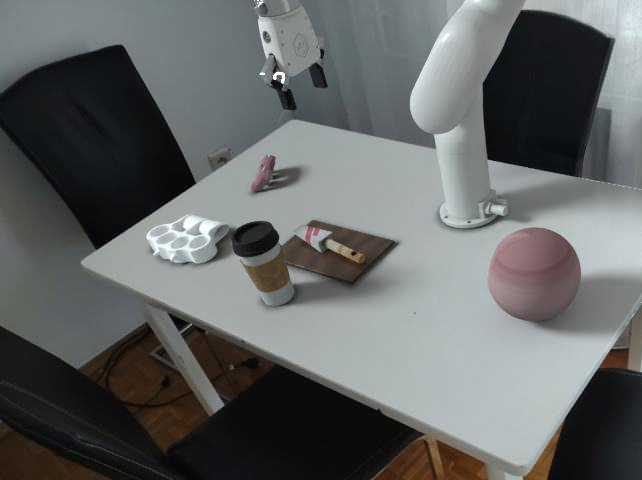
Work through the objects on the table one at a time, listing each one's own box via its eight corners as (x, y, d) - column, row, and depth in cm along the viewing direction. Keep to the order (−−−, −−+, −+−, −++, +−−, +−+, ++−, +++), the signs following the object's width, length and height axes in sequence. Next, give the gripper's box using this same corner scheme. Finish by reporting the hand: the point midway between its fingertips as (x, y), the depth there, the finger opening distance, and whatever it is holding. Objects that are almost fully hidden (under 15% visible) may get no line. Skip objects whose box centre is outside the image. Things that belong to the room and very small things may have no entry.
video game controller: (268, 197, 153) (272, 172, 148) (249, 192, 152) (252, 166, 147) (276, 176, 160) (280, 151, 155) (257, 171, 159) (261, 146, 154)
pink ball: (514, 274, 115) (507, 202, 105) (594, 291, 109) (595, 217, 98) (476, 327, 107) (465, 255, 96) (560, 350, 100) (557, 275, 90)
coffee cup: (280, 315, 117) (251, 249, 107) (248, 304, 121) (217, 239, 111) (309, 287, 122) (284, 221, 112) (277, 277, 126) (250, 213, 115)
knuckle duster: (241, 234, 140) (193, 274, 131) (187, 220, 148) (138, 256, 140) (236, 221, 137) (186, 261, 129) (181, 207, 146) (131, 243, 137)
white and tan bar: (301, 217, 133) (367, 248, 123) (305, 228, 135) (370, 260, 125) (287, 226, 131) (353, 259, 121) (291, 237, 133) (356, 270, 123)
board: (394, 243, 128) (393, 240, 128) (352, 285, 120) (351, 281, 120) (313, 222, 139) (312, 219, 138) (270, 259, 131) (268, 256, 130)
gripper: (259, 22, 106) (292, 120, 118) (322, -13, 116) (347, 80, 128) (228, 21, 110) (262, 116, 121) (292, -13, 119) (318, 78, 131)
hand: (306, 98), depth 125 cm, fingers open, 9 cm apart
